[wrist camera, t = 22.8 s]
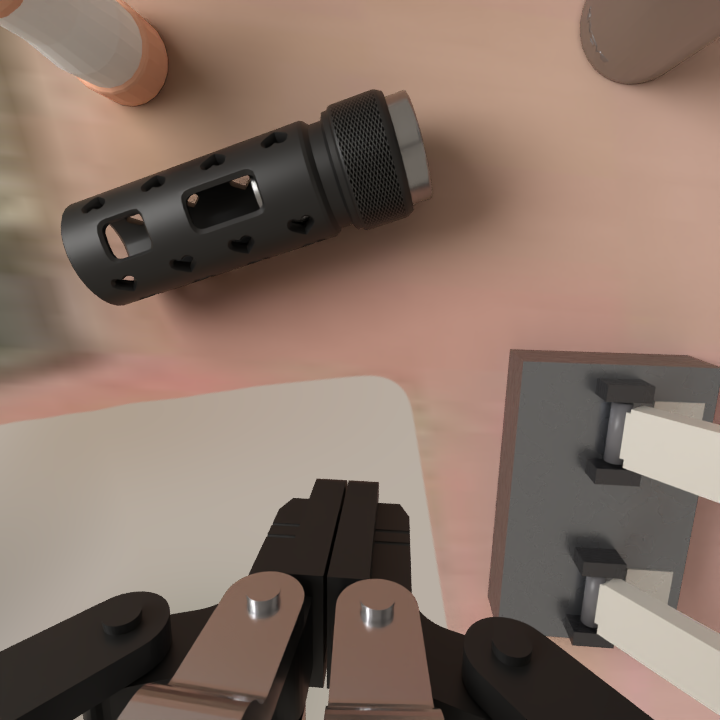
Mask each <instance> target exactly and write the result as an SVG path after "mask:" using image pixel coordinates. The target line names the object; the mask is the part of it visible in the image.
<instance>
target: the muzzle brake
mask: <svg viewBox="0 0 720 720" xmlns="http://www.w3.org/2000/svg"><path fill="white" fill-rule="evenodd" d="M246 175H248V176H250V179H249V180H248V182H247V185H246V186H243V185H241V184H238V183H236V182H233V181H232V180H234V179H237V178H240V177H243V176H246ZM193 194H197V195H198V198H197V200H196V202H195V204H193V203H191V202H188V199H189V197H190V196H191V195H193ZM431 198H432V182H431V176H430V170H429V165H428V161H427V156H426V152H425V147H424V143H423V139H422V135H421V132H420V128H419V124H418V121H417V118H416V114H415V111H414V108H413V105H412V103H411V100H410V98H409V95H408V94H407V92H406V91H404V90H403V91H400V92H397V93H394V94H391V95H389V96H386V97H384V94H383V92H382V91H378V90H375V89H374V90H369V91H367V92H364V93H361V94H358V95H356V96H353V97H350V98H348V99H345V100H342V101H339V102H337V103H334V104H331V105H329V106H328V107H327V110H326V111H324V112H321V119H320V121H318V122H316V123H313V124H310V125H308V124H306V123H304V122H302V121H298V122H295V123H292V124H289V125H287V126H284V127H281V128H278V129H276V130H273V131H270V132H267V133H265V134H262V135H259V136H257V137H254V138H251V139H248V140H246V141H243V142H240V143H237V144H235V145H232V146H229V147H227V148H224V149H221V150H218V151H216V152H213V153H210V154H207V155H205V156H202V157H199V158H197V159H194V160H191V161H188V162H186V163H183V164H180V165H177V166H175V167H172V168H169V169H167V170H164V171H161V172H158V173H156V174H153V175H150V176H147V177H145V178H142V179H139V180H136V181H134V182H131V183H128V184H126V185H123V186H120V187H117V188H115V189H112V190H109V191H106V192H104V193H101V194H98V195H96V196H93V197H90V198H87V199H85V200H82V201H79V202H76V203H74V204H71V205H69V206H68V207H67V208H66V209H65V211H64V213H63V215H62V221H61V235H62V240H63V245H64V248H65V251H66V254H67V256H68V258H69V260H70V262H71V264H72V267H73V268H74V270H75V271H76V273H77V275H78V276H79V278H80V279H81V280H82V281H83V283H84V284H85V285H86V286H87V287H88V288H89V289H90V290H91V291H92V292H93V293H94V294H95V295H97V296H98V297H99V298H101V299H102V300H104V301H106V302H108V303H110V304H113V305H117V306H118V305H126V304H129V303H132V302H135V301H138V300H141V299H144V298H147V297H150V296H153V295H155V294H159V293H163V292H166V291H169V290H172V289H175V288H178V287H181V286H184V285H187V284H190V283H193V282H196V281H199V280H202V279H205V278H208V277H210V276H215V275H218V274H221V273H224V272H227V271H230V270H233V269H236V268H239V267H243V266H246V265H249V264H252V263H254V262H257V261H260V260H262V259H267V258H270V257H273V256H276V255H279V254H282V253H285V252H289V251H292V250H295V249H298V248H301V247H304V246H307V245H310V244H313V243H315V242H319V241H322V240H325V239H328V238H331V237H335V236H337V235H338V234H339V233H340V231H341V228H342V227H345V226H348V225H351V224H353V225H354V226H355V227H356V228H357V229H360V228H364V229H365V230H368V229H371V228H374V227H377V226H380V225H383V224H386V223H389V222H393V221H396V220H399V219H402V218H405V217H407V216H409V215H410V213H411V212H412V211H413V210H414V208H413V204H416V203H419V202H422V201H425V200H428V199H431ZM136 214H140V215H141V217H142V219H143V221H140V220H137V219H134V218H131V217H130V216H134V215H136ZM109 224H110V226H111V227H112V228H113V229H114V230H115V232H116V233H117V234H118V236H119V237H120V239H121V241H122V242H123V244H124V246H125V249H126V251H127V254H128V256H129V257H126V258H123V259H118V258H117V257H116V256H115V255H114V254H113V252H112V250H111V248H110V245H109V243H108V240H107V237H106V234H105V231H106V228H107V226H108V225H109ZM126 276H133V277H134V281H130V280H122V279H124V278H125V277H126Z"/></svg>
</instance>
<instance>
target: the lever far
mask: <svg viewBox="0 0 720 720" xmlns="http://www.w3.org/2000/svg"><path fill="white" fill-rule="evenodd" d="M606 579H607V578H602V577H587V576H586V583H585V590H584V597H583V604H582V611H581V618H580V619H581V622H582V623H583V624H584V625H586V626H588V627H591V628H597V627H598V629H597V634H598V635H600V636H601V637H603V638H604V639H606V640H607V641H609V642H610V643H612V644H613V645H615V646H616V647H618V648H619V649H621V650H622V651H624V652H625V653H627V654H628V655H630V656H631V657H633V658H634V659H636V660H637V661H639V662H640V663H641V664H643V665H644V666H646V667H647V668H649V669H650V670H652V671H653V672H655V673H656V674H658V675H659V676H661V677H662V678H664V679H665V680H667V681H668V682H670V683H671V684H673V685H674V686H676V687H677V688H679V689H680V690H682V691H683V692H685V693H686V694H688V695H689V696H691V697H692V698H694V699H695V700H697V701H698V702H700V703H701V704H703V705H704V706H706V707H707V708H709V709H710V710H712V711H713V712H715V713H716V714H718V715H719V716H720V634H719V633H718V632H716V631H714V630H712V629H710V628H709V627H707V626H705V625H703V624H701V623H700V622H698V621H696V620H694V619H692V618H691V617H689V616H687V615H685V614H683V613H681V612H680V611H678V610H676V609H674V608H672V607H671V606H669V605H667V604H665V603H663V602H662V601H660V600H658V599H656V598H654V597H653V596H651V595H649V594H647V593H645V592H643V591H642V590H640V589H638V588H636V587H634V586H633V585H631V584H629V583H627V582H625V581H624V580H622V579H617V578H613V579H612V580H610V581H607V580H606Z"/></svg>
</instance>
